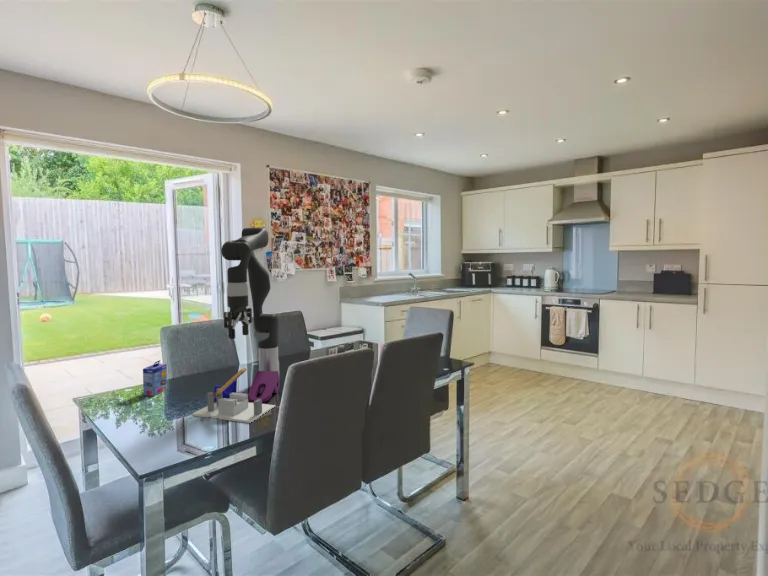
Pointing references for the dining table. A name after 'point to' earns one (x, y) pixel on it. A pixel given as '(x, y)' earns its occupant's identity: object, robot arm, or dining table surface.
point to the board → (237, 417)
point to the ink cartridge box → (154, 379)
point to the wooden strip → (229, 382)
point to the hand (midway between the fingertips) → (238, 336)
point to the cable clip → (227, 390)
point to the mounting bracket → (264, 385)
